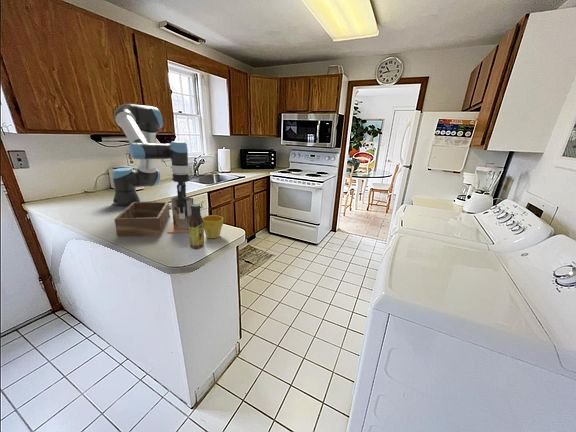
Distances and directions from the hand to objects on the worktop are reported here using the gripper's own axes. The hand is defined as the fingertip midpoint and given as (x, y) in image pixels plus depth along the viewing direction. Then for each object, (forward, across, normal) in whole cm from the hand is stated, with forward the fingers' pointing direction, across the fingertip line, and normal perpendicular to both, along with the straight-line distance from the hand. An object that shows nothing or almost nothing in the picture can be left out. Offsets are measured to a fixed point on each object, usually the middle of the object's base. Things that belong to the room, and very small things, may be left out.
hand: (183, 215), depth 127 cm
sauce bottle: (+7, +24, +8) cm, 26 cm away
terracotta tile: (+7, 0, 0) cm, 7 cm away
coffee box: (+7, 0, 0) cm, 7 cm away
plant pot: (+7, +13, +15) cm, 21 cm away
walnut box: (+7, -5, -19) cm, 21 cm away
